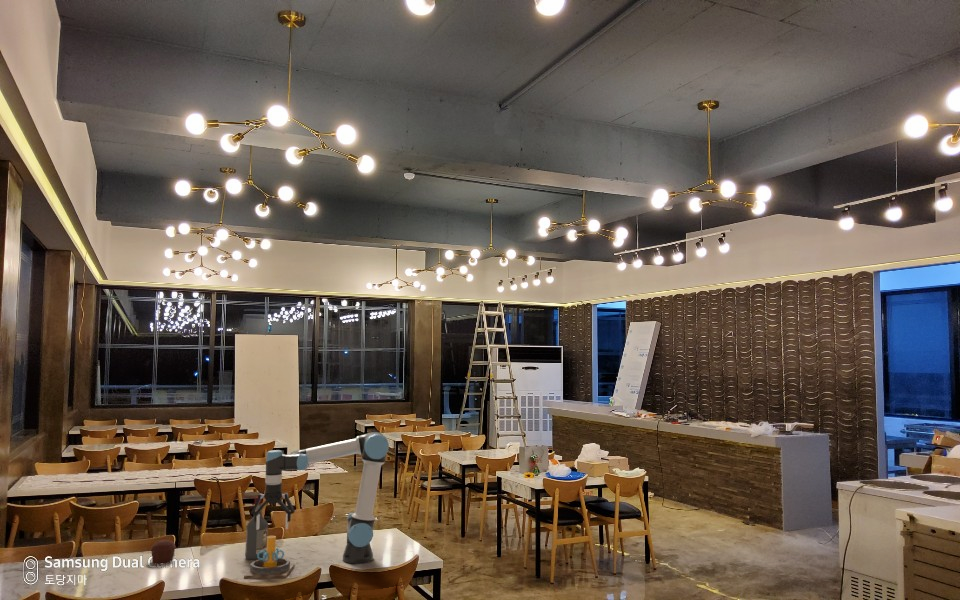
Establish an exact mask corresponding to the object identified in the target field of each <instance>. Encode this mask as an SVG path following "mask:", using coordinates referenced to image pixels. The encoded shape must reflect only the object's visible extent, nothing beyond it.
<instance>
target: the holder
mask: <svg viewBox="0 0 960 600" xmlns="http://www.w3.org/2000/svg"><path fill="white" fill-rule="evenodd" d="M295 566H296V565H295V562H294V563H293V562H292V563H291V561H290V560H289V559H288V558H284V557H283V558H281V559H278V560H277V567H264V561H263V560H252V562H251V563H250V564H249V569H248V570H247V572H246V573H245V574H244V575H243V579H286V578H287V577H288V576H289V574H290V573H291V572H292V570H293V569H294V567H295Z"/></svg>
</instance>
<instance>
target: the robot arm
mask: <svg viewBox="0 0 960 600" xmlns="http://www.w3.org/2000/svg"><path fill="white" fill-rule="evenodd" d="M389 443H390V442H389V441H388V439H387V437H386V436H385V435H384V434H383V433H381V432H379V431H371V432H368V433H365V434H361V435H357V436H356V437H355V438H352V439H347V440H343V441H337V442H333V443H328V444H327V443H326V444H324V445H319V446H314V447H309V448H305V449H304V448H303V449H296V450H293V451H291V452H290V453H288V454H285V453H283V451H282V450H280V449H276V450H275V449H274V450H268V451H267V452H266V457H265V481H264V482H265V485H264V487H265V488H264V489H265V490H264V494H263V493H259V494H258V495H257V497H258V499H257V501H256V503H255V502H254V505H253V507H252V508H251V509H252V510H251V511H250V514H251V515H253V517H254V516H255V519H254V521H255V522H257V524H256V530H258V529H259V526H260V515H258V513H259V512H260V511H261V510H263V508H265V506H266V505H267V504H270V505H271V504H278V505H279V506H280V507H281V508H282V509H283V511H284V512H285V513H286V514H285V530H288V529H289V522H291V518H292V514H294V513H295V512H296V509H295V508H294V506H293V504H292V501H291V499H290V498H289V493H288V492H286V493H282V489H283V488H282V487H283V486H282V484H283V483H282V482H283V481H282V479H283V471H304V470H307V469H308V464H313V463H314V464H315V463H319V462H324V461H328V460H333V459H337V458H342V457H348V456H351V455H356V454H357V455H362V456H361V461H362V462H363V467H362V472H361V477H360V478H361V479H360V482H359V484H360V485H359V490H358V495H357V499H356V505H355V511H354V512H349V513H348V515H347V518H346V521H347V522H346V523H347V524H346V526H347V527H346V545H345V548H344V551H343V553H342V561H343V562H344V563H348V564H365V563H370V562H372V561H373V560H374V552H373V550H372V545H371V541H372V540H373V538H374V526H375V525H374V524H375V520H376V517H375V516H374V515H373V514H374V508H375V502H376V496H377V492H378V491H377V490H378V485H379V481H380V474H381V468H382V465H384V464H385V463H386V458H387V454H388V452H389V449H390V446H389ZM263 498H264V499H265V501H264V502H262V506H261V507H260V508H259V509H258V510H257V511H256V512H255V510H256V508H257V506H258V504H259V502H260V501H261V499H262V500H263ZM282 498H283V499H284V500H285V502H286V504H287V505H286V504H285V503H284V502H283V500H282Z"/></svg>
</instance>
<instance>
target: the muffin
mask: <svg viewBox="0 0 960 600" xmlns="http://www.w3.org/2000/svg"><path fill="white" fill-rule="evenodd" d="M176 547H177V546H176V545H175V542H174V541H172V540H170V539H161V540H160V539H159V540H158V541H156V542H155V543H153V544H152V546H151V547H150V551H151V558H152V559H151V560H152V561H151V562H152V563H153V564H155V563H156V564H157V565H161V564H160V563H165V564H168V563H167V562H169V563H171V562H172V561H173V558H174V554H175V549H176ZM170 561H171V562H170Z"/></svg>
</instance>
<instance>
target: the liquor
mask: <svg viewBox="0 0 960 600" xmlns="http://www.w3.org/2000/svg"><path fill="white" fill-rule="evenodd" d="M257 499H258V496H255V497H254V504H255V503H256V501H257ZM262 504H263V498H262V499H261V501H260V502H259V504H258V506H257V508H256V510H255V512H256V511H257V510H258V509H259V508H260V507H261V506H262ZM262 510H263V509H262ZM262 510H261V511H260V512H259V513H258V515H260V526H259V529H258V530H256V524H257V522H255V521H254V519H255V516H254V515H253V516H252V518H251V519H250V520H249V521H248V522H247V523H246V530H245V531H246V532H245V534H246V535H245V554H244V555H245V556H244V557H245V558H246V560H250V561H251V560H252V561H256V560H259V559H258V558H257V554H258V553H259V552H260V551H264V549H267V537H268V536H269V523H268V521H267V520H266V518H264V516H263V514H262V513H263V512H262ZM265 552H266V551H265ZM259 558H263V553H260V554H259Z"/></svg>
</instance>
